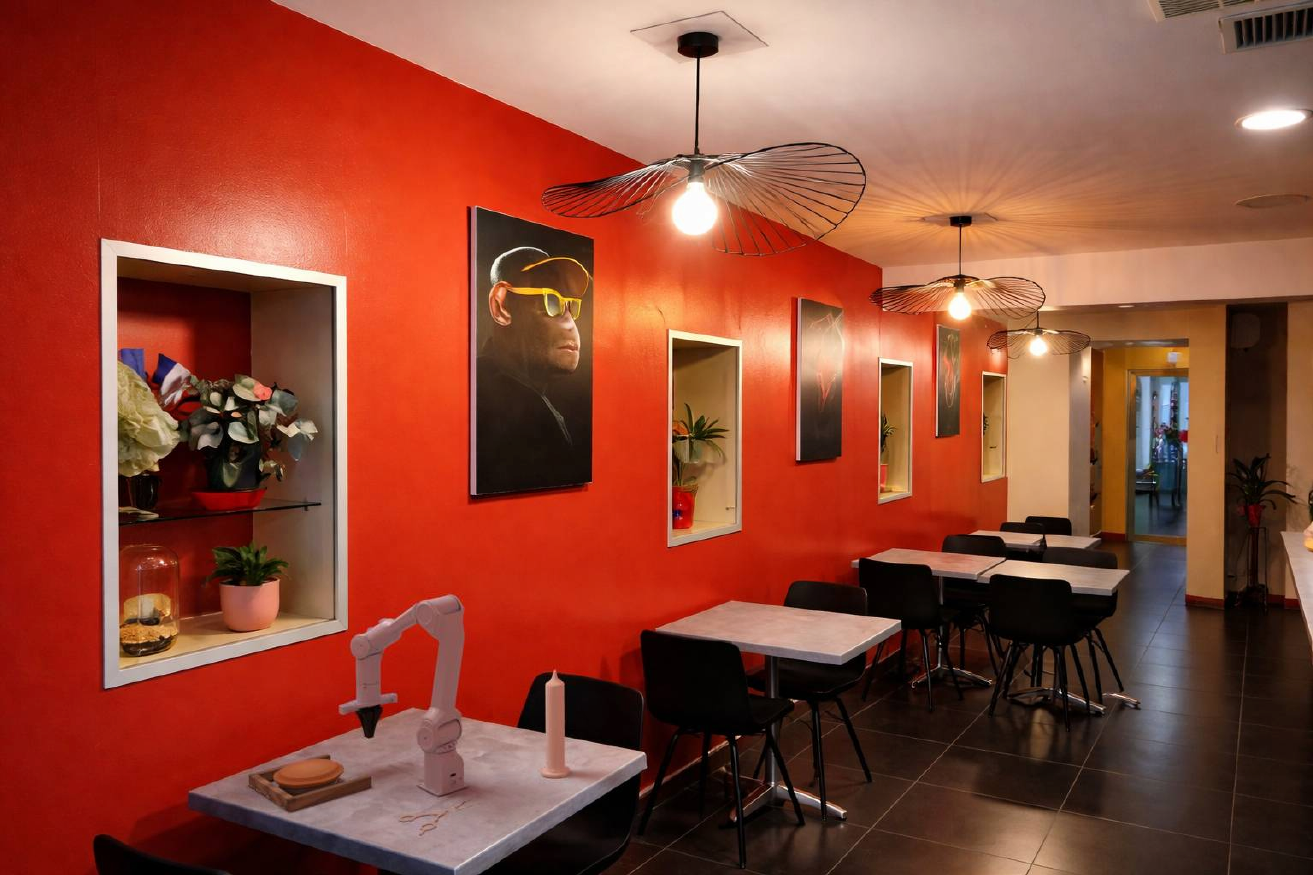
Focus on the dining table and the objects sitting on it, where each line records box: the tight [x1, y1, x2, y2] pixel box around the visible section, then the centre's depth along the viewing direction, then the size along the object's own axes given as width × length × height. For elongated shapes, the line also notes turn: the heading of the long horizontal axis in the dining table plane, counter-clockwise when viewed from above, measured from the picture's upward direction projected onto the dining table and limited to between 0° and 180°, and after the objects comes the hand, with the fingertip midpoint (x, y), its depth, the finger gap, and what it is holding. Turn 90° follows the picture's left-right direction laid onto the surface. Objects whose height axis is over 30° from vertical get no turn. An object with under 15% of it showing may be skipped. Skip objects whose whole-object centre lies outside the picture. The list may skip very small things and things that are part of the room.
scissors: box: [397, 797, 472, 836], centre depth 204 cm, size 11×1×20 cm
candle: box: [540, 669, 571, 779], centre depth 227 cm, size 7×7×25 cm
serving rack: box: [248, 753, 372, 812], centre depth 219 cm, size 22×20×2 cm
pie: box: [273, 758, 345, 796], centre depth 219 cm, size 16×16×5 cm
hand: (369, 737), depth 230 cm, fingers closed
